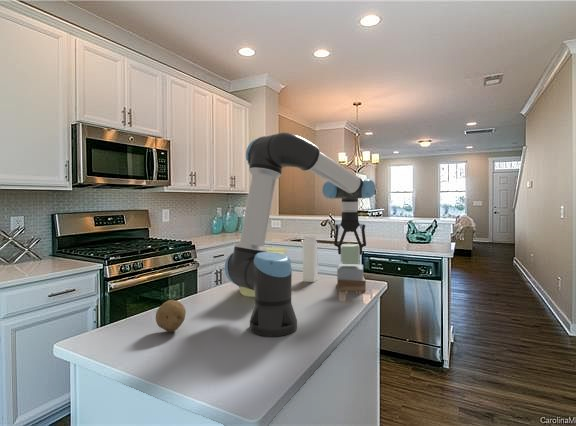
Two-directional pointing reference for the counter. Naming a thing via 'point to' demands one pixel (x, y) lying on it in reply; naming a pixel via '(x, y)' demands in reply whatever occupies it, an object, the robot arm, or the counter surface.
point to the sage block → (349, 254)
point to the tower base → (351, 285)
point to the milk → (310, 259)
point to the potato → (170, 315)
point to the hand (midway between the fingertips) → (350, 261)
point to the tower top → (350, 272)
